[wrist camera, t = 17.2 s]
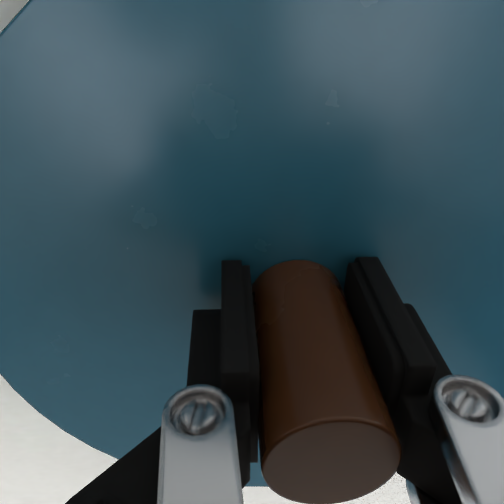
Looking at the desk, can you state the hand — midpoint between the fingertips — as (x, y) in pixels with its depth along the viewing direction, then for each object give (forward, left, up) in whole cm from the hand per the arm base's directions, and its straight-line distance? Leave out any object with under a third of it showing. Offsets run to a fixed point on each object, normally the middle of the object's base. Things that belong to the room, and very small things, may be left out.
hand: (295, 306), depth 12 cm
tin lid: (0, 0, -1) cm, 1 cm away
